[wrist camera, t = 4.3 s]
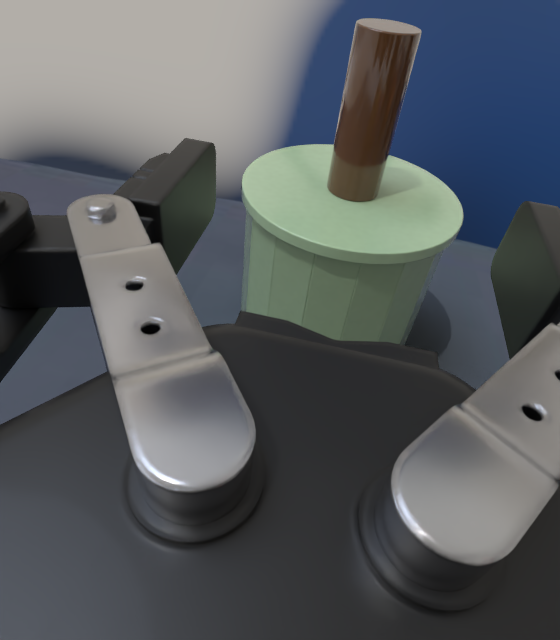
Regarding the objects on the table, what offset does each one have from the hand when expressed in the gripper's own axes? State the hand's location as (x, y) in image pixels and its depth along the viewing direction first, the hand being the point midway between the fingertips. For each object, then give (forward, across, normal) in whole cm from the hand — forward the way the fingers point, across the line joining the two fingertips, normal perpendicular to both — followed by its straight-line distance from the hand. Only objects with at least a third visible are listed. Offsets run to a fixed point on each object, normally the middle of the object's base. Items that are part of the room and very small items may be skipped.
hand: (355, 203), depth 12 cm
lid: (+10, 0, +5) cm, 11 cm away
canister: (+10, 0, +15) cm, 18 cm away
